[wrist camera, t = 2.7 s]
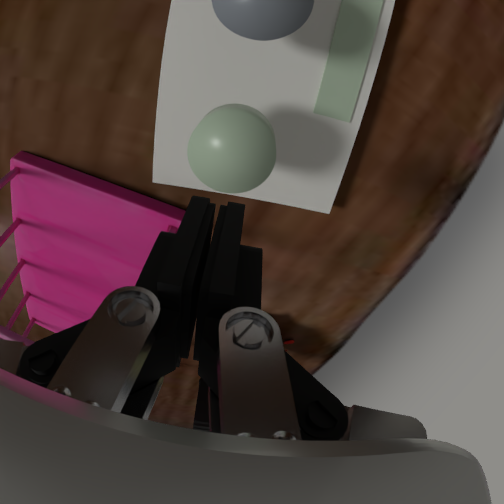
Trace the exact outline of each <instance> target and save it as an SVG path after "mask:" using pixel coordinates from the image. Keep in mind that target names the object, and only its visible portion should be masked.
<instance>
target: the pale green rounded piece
mask: <svg viewBox="0 0 504 504" xmlns="http://www.w3.org/2000/svg"><path fill="white" fill-rule="evenodd" d="M187 156H188V161H189V164H190V167H191V169H192V171H193V173H194V174H195V175H196V177H197V178H198V179H199V180H200V181H201V182H202V183H204V184H205V185H206V186H208V187H210V188H212V189H214V190H216V191H219V192H223V193H243V192H247V191H250V190H252V189H254V188H256V187H258V186H259V185H261V184H262V183H263V182H264V181H265V180H266V179H267V178H268V177H269V175H270V174H271V172H272V170H273V168H274V165H275V162H276V141H275V134H274V130H273V128H272V125H271V124H270V122H269V120H268V119H267V118H266V117H265V116H264V115H263V114H262V113H261V112H260V111H258V110H257V109H255V108H253V107H250V106H248V105H244V104H237V103H235V104H225V105H222V106H219V107H217V108H215V109H213V110H211V111H210V112H209V113H207V114H206V115H205V116H204V118H203V119H202V120H201V121H200V123H199V124H198V125H197V127H196V128H195V129H194V131H193V132H192V134H191V136H190V139H189V142H188V147H187Z"/></svg>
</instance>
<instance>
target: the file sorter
mask: <svg viewBox="0 0 504 504" xmlns="http://www.w3.org/2000/svg"><path fill="white" fill-rule="evenodd" d="M10 170H11V171H10V172H9V173H8V174H7V175H5V176H4V177H3V178H2V179H1V180H0V189H1V188H2V187H3V186H5V185H6V184H7V183H8V182H9V181H10V180H11V201H12V215H13V223H12V225H11V226H10V227H9V228H8V229H7V230H6V231H5V232H4V233H3V234H2V236H1V237H0V247H1V246H2V244H3V243H4V242H5V241H6V240H7V238H8V237H9V236H10V235H11V234H12V233H13V232H14V236H15V244H16V252H17V259H18V265H17V266H16V268H15V269H14V270H13V272H12V273H11V275H10V276H9V278H8V279H7V281H6V282H5V284H4V285H3V287H2V288H1V290H0V301H1V299H2V297H3V296H4V294H5V293H6V291H7V290H8V288H9V286H10V285H11V283H12V282H13V280H14V279H15V278H16V276H17V274H18V273H19V271H20V277H21V283H22V288H23V292H24V297H23V299H22V300H21V302H20V304H19V305H18V307H17V309H16V310H15V312H14V314H13V315H12V317H11V319H10V320H9V322H8V324H7V326H6V327H3V326H1V325H0V339H4V340H11V341H19V342H24V344H25V345H26V346H30V345H31V344H33V343H35V342H34V341H31V340H29V339H27V338H26V337H27V335H28V333H29V332H30V330H31V328H32V326H33V324H34V323H36V324H38V325H40V326H42V327H44V328H46V329H48V330H50V331H53V332H55V333H58V332H60V331H62V330H65V329H67V328H70V327H72V326H74V325H77V324H79V323H81V322H84V321H86V320H88V319H91V317H92V316H93V315H94V313H95V312H96V310H97V309H98V307H99V306H100V304H101V303H102V302H103V300H104V299H105V298H106V297H107V296H108V294H109V293H110V292H112V291H114V290H116V289H118V288H121V287H125V286H135V285H136V282H137V280H138V278H139V276H140V273H141V271H142V269H143V267H144V265H145V263H146V260H147V258H148V256H149V254H150V252H151V250H152V248H153V245H154V243H155V241H156V239H157V237H158V235H159V233H160V232H161V231H165V232H171V233H177V231H178V228H179V226H180V224H181V221H182V219H183V217H184V214H185V212H186V211H185V210H182V209H179V208H177V207H174V206H171V205H169V204H166V203H163V202H161V201H158V200H155V199H153V198H150V197H147V196H144V195H142V194H139V193H136V192H134V191H131V190H128V189H126V188H123V187H120V186H117V185H115V184H112V183H109V182H107V181H104V180H101V179H98V178H96V177H93V176H90V175H88V174H85V173H82V172H79V171H77V170H74V169H71V168H69V167H66V166H63V165H60V164H58V163H55V162H52V161H49V160H46V159H44V158H41V157H38V156H35V155H33V154H30V153H27V152H24V151H20V152H19V153H18V154H16V155H15V156H14V157H13V158H11V161H10ZM25 303H26V307H27V311H28V315H29V319H30V320H31V321H30V323H29V324H28V326H27V328H26V330H25V332H24V334H23V335H22V336H21V335H19V334H17V333H15V332H13V331H11V330H10V329H11V327H12V325H13V324H14V322H15V320H16V318H17V316H18V315H19V313H20V312H21V310H22V308H23V306H24V305H25Z"/></svg>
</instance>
